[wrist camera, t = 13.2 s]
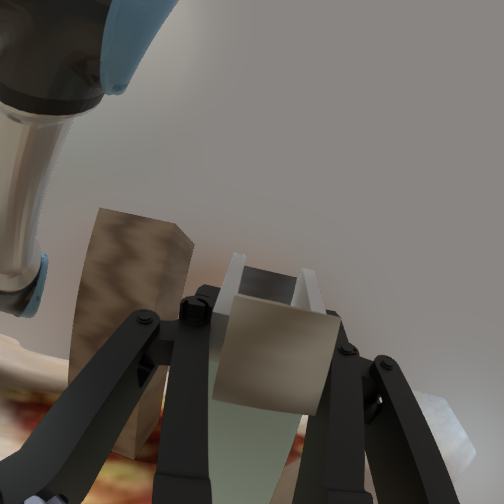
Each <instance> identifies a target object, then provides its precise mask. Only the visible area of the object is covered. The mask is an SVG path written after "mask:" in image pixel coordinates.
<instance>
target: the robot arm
mask: <svg viewBox="0 0 504 504" xmlns="http://www.w3.org/2000/svg"><path fill="white" fill-rule="evenodd" d="M178 1H179V0H0V311H3V312H6V313H10V314H13V315H14V316H16V317H25V318H32V317H34V315H35V314H36V312H37V310H38V308H39V305H40V301H41V300H40V299H41V296H42V293H43V289H44V284H45V280H46V274H47V268H48V258H47V255H46V254H44V253H42V252H41V251H40V247H39V244H38V242H37V240H36V236H37V231H38V226H39V222H40V217H41V213H42V209H43V205H44V202H45V198H46V194H47V191H48V187H49V184H50V181H51V178H52V175H53V172H54V168H55V166H56V163H57V160H58V157H59V154H60V152H61V149H62V146H63V144H64V142H65V139H66V137H67V134H68V132H69V129H70V127H71V125H72V123H73V120H74V118H75V117H78V116H81V115H84V114H87V113H88V112H90V111H92V110H93V109H95V108H96V107H97V105H98V104H99V103H100V101H101V99H102V98H103V95H104V94H107V95H112V94H114V95H121V94H123V93H124V92H125V90H126V88H127V86H128V84H129V82H130V80H131V78H132V76H133V74H134V72H135V70H136V69H137V67H138V65H139V63H140V61H141V59H142V57H143V56H144V54H145V52H146V50H147V49H148V47H149V45H150V44H151V42H152V40H153V39H154V37H155V35H156V33H157V32H158V30H159V29H160V27H161V26H162V24H163V23H164V21H165V20H166V18H167V17H168V15H169V13H170V12H171V11H172V9H173V8H174V7H175V5H176V4H177V2H178ZM245 259H246V255H244V254H239V253H235V252H234V254H233V257H232V260H231V262H230V265H229V268H228V271H227V273H226V276H225V279H224V281H223V284H222V287H221V288H218V287H214V286H210V285H205V284H204V285H202V286H201V287H199V288H198V290H197V292H196V294H195V295H194V296H189V297H185V298H183V299H182V300H181V302H180V310H179V319H177V320H173V321H166V320H160V317H159V315H158V314H157V313H156V312H154V311H152V310H148V309H139V310H136V311H134V312H132V313H131V314H130V315H129V316H128V317H127V318H126V319H125V320H124V322H123V323H122V324H121V325H120V326H119V327H118V328H117V329H116V331H115V332H114V333H113V334H112V335H111V336H110V337H109V339H108V340H107V341H106V342H105V343H104V344H103V345H102V347H101V348H100V349H99V350H98V351H97V352H96V354H95V355H94V356H93V357H92V358H91V359H90V361H89V362H88V363H87V364H86V365H85V367H84V368H83V369H82V370H81V371H80V373H79V374H78V375H77V376H76V377H75V379H74V380H73V381H72V382H71V383H70V385H69V386H68V387H67V388H66V390H65V391H64V392H63V393H62V395H61V396H60V397H59V398H58V400H57V401H56V402H55V403H54V405H53V406H52V407H51V409H50V410H49V411H48V412H47V414H46V415H45V416H44V418H43V419H42V420H41V422H40V423H39V424H38V425H37V427H36V428H35V429H34V431H33V432H32V434H31V435H30V436H29V438H28V439H27V440H26V442H25V443H24V444H23V446H22V447H21V449H20V450H19V451H17V452H15V453H14V454H12V455H10V456H8V457H7V458H5V459H3V460H2V461H0V504H81V502H82V501H83V500H84V498H85V497H86V495H87V494H88V492H89V490H90V489H91V487H92V485H93V483H94V481H95V479H96V477H97V475H98V474H99V472H100V470H101V468H102V466H103V464H104V462H105V461H106V459H107V457H108V455H109V453H110V452H111V450H112V448H113V446H114V444H115V442H116V441H117V439H118V437H119V435H120V433H121V432H122V430H123V428H124V426H125V424H126V423H127V421H128V419H129V417H130V416H131V414H132V412H133V410H134V409H135V407H136V405H137V403H138V402H139V400H140V398H141V396H142V395H143V393H144V391H145V389H146V388H147V386H148V384H149V382H150V381H151V379H152V377H153V375H154V374H155V372H156V370H157V369H158V367H159V365H164V366H170V370H169V376H168V383H167V389H166V396H165V403H164V410H163V417H162V425H161V433H160V442H159V451H158V460H157V469H156V473H155V476H154V482H153V494H152V504H212V488H211V480H210V478H209V460H208V375H209V360H211V361H215V362H219V361H220V357H221V353H222V348H223V344H224V339H225V335H226V330H227V326H228V322H229V317H230V313H231V308H232V304H233V300H234V296H235V295H237V294H238V291H239V286H240V282H241V277H242V273H243V268H244V264H245ZM291 306H294V307H299V308H303V309H307V310H311V311H315V312H319V313H323V314H328V315H332V316H336V317H340V316H339V315H338V314H337V313H336V312H335V311H330V310H325V307H324V303H323V300H322V296H321V292H320V290H319V286H318V283H317V279H316V275H315V273H314V270H310V269H306V268H302V270H301V274H300V277H299V280H298V283H297V287H296V289H295V292H294V296H293V299H292V302H291ZM380 397H381V398H382V403H381V402H380V400H379V398H380ZM365 452H366V456H367V459H368V463H369V467H370V471H371V475H372V479H373V483H374V487H375V491H376V496H377V500H378V504H460V503H459V501H458V498H457V495H456V492H455V490H454V487H453V484H452V481H451V479H450V476H449V473H448V471H447V468H446V466H445V463H444V461H443V458H442V456H441V454H440V451H439V449H438V446H437V444H436V442H435V439H434V437H433V435H432V433H431V430H430V428H429V426H428V424H427V422H426V419H425V417H424V415H423V413H422V411H421V409H420V407H419V405H418V403H417V401H416V399H415V396H414V394H413V392H412V390H411V388H410V387H409V385H408V383H407V381H406V379H405V377H404V375H403V373H402V371H401V370H400V367H399V365H398V364H397V362H396V361H395V360H394V359H392V358H391V357H389V356H385V355H378V356H377V357H376V358H375V359H374V361H371V360H368V359H365V358H362V357H360V356H359V352H358V349H357V348H356V347H355V346H353V345H352V344H351V343H349V342H348V339H347V336H346V333H345V330H344V327H343V324H342V321H341V322H340V326H339V331H338V335H337V339H336V343H335V347H334V351H333V355H332V359H331V363H330V367H329V370H328V374H327V378H326V381H325V385H324V388H323V391H322V395H321V398H320V401H319V404H318V408H317V411H316V414H315V416H312V415H308V422H307V429H306V435H305V441H304V447H303V452H302V458H301V463H300V468H299V473H298V478H297V483H296V488H295V492H294V497H293V501H292V504H373V497H372V495H371V493H368V492H366V491H365V489H364V471H365Z"/></svg>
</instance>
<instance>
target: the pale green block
mask: <svg viewBox="0 0 504 504" xmlns="http://www.w3.org/2000/svg"><path fill="white" fill-rule="evenodd" d="M218 366H219V362H215V361H211V360H209V375H208V460H209V478H210V480H211V488H212V504H269V503H270V501H271V498H272V496H273V494H274V491H275V489H276V486H277V484H278V481H279V479H280V476H281V474H282V471H283V469H284V466H285V463H286V461H287V458H288V455H289V452H290V450H291V447H292V444H293V441H294V438H295V435H296V432H297V429H298V426H299V423H300V420H301V417H302V414H293V413H284V412H277V411H270V410H264V409H257V408H252V407H246V406H241V405H236V404H231V403H226V402H221V401H217V400H213V399H211V397H212V393H213V388H214V384H215V379H216V375H217V370H218Z"/></svg>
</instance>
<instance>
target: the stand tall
mask: <svg viewBox="0 0 504 504" xmlns="http://www.w3.org/2000/svg"><path fill="white" fill-rule="evenodd" d="M193 249H194V243H193V242H192V241H191V240H190V239H189V238H188V237H187V236H186V235H185V234H184V233H183V232H182V231H181V229H180V228H179V227H178V226H177V225H176V224H174V223H170V222H165V221H161V220H156V219H151V218H146V217H142V216H137V215H133V214H128V213H123V212H118V211H114V210H109V209H103V208H99V211H98V214H97V218H96V221H95V224H94V228H93V231H92V235H91V239H90V242H89V246H88V250H87V254H86V258H85V262H84V267H83V271H82V276H81V281H80V286H79V291H78V296H77V302H76V308H75V315H74V321H73V329H72V337H71V347H70V358H69V372H68V386H69V385H70V383H71V382H72V381H73V380H74V379H75V377H76V376H77V375H78V374H79V373H80V371H81V370H82V369H83V368H84V367H85V365H86V364H87V363H88V362H89V361H90V359H91V358H92V357H93V356H94V355H95V354H96V352H97V351H98V350H99V349H100V348H101V347H102V345H103V344H104V343H105V342H106V341H107V340H108V339H109V337H110V336H111V335H112V334H113V333H114V332H115V331H116V329H117V328H118V327H119V326H120V325H121V324H122V323H123V322H124V320H125V319H126V318H127V317H128V316H129V315H130V314H131V313H132V312H134V311H136V310H139V309H148V310H152V311H154V312H156V313H157V314H158V315H159V317H160V320H166V321H173V320H177V317H178V313H179V308H180V302H181V299H182V294H183V290H184V286H185V282H186V277H187V273H188V269H189V265H190V260H191V257H192V252H193ZM167 369H168V366H164V365H159V367H158V369H157V370H156V372H155V374H154V375H153V377H152V379H151V381H150V382H149V384H148V386H147V388H146V389H145V391H144V393H143V395H142V396H141V398H140V400H139V402H138V403H137V405H136V407H135V409H134V410H133V412H132V414H131V416H130V417H129V419H128V421H127V423H126V424H125V426H124V428H123V430H122V432H121V433H120V435H119V437H118V439H117V441H116V442H115V444H114V446H113V448H112V450H111V451H112V452H114V453H117V454H119V455H122V456H124V457H127V458H129V459H132V460H134V459H135V458H136V456H137V455H138V453H139V452H140V450H141V449H142V447H143V445H144V444H145V442H146V441H147V439H148V438H149V436H150V435H151V433H152V432H153V430H154V429H155V427H156V425H157V424H158V422H159V419H160V412H161V406H162V399H163V393H164V387H165V381H166V375H167Z"/></svg>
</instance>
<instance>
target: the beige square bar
mask: <svg viewBox="0 0 504 504" xmlns="http://www.w3.org/2000/svg"><path fill="white" fill-rule="evenodd" d="M296 279H297V278H296V277H292V276H287V275H283V274H278V273H274V272H270V271H265V270H261V269H256V268H252V267H248V266H244V268H243V273H242V277H241V282H240V286H239V291H238V294H237V295H235V296H234V300H233V304H232V308H231V313H230V317H229V322H228V326H227V330H226V335H225V339H224V344H223V348H222V353H221V357H220V361H219V366H218V370H217V375H216V379H215V384H214V388H213V393H212V397H211V399H213V400H217V401H221V402H226V403H231V404H236V405H241V406H246V407H252V408H257V409H264V410H270V411H277V412H284V413H293V414H302V415H312V416H315V414H316V411H317V408H318V404H319V401H320V398H321V395H322V391H323V388H324V385H325V381H326V378H327V374H328V370H329V367H330V363H331V359H332V355H333V351H334V347H335V343H336V339H337V335H338V331H339V326H340V322H341V317H336V316H332V315H328V314H323V313H319V312H315V311H311V310H307V309H303V308H299V307H294V306H291V302H292V298H293V294H294V289H295V284H296Z"/></svg>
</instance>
